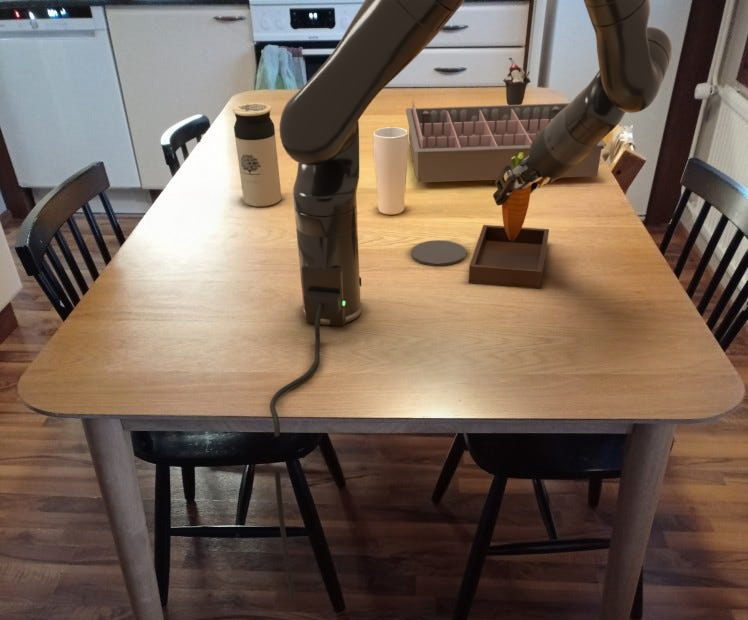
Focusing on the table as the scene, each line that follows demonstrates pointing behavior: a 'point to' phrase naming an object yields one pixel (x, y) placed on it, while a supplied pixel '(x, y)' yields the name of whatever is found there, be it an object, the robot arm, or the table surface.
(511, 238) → the carrot
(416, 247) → the metal coaster
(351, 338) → the table surface
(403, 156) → the drinking glass
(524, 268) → the tray
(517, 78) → the sundae
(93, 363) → the table surface
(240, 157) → the travel mug
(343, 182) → the robot arm
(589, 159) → the organizer tray
